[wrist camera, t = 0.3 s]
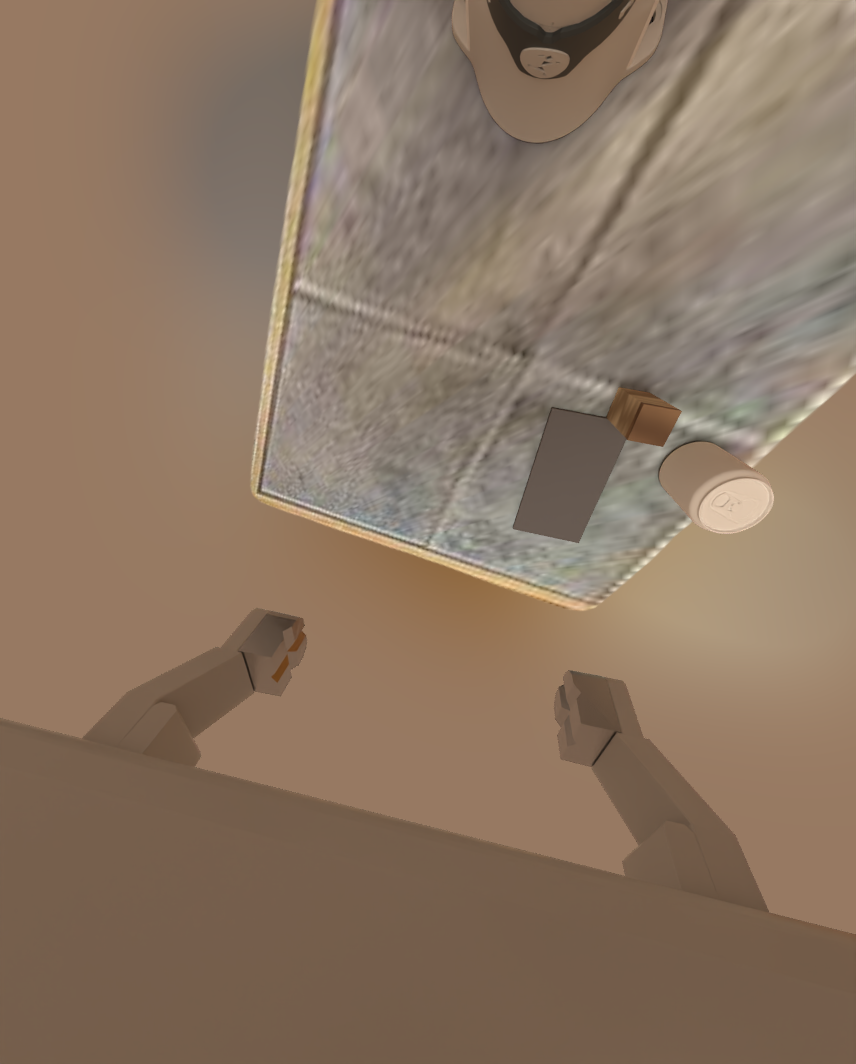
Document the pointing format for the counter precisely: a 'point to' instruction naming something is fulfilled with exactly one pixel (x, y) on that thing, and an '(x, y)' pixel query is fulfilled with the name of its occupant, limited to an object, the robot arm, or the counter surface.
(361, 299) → the counter surface
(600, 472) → the rubber mat
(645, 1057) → the robot arm
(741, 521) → the beverage can
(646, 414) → the maple block
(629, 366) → the counter surface
